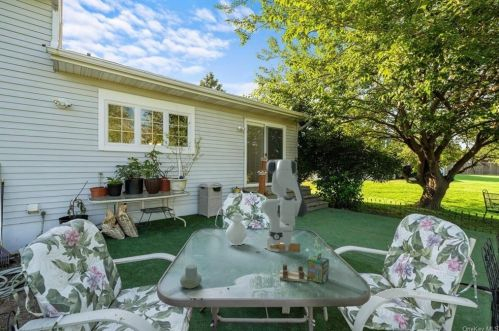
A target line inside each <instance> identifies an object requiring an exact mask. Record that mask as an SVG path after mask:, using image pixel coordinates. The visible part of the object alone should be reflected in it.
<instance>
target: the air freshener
mask: <svg viewBox="0 0 499 331" xmlns="http://www.w3.org/2000/svg"><path fill="white" fill-rule="evenodd" d="M202 282H203V281H202V276H201V275H200V274H199V273H198V266H197V265H196V264H189V265H186V266H185V273H184V274H182V276H181V277H180V279H179V283H180V285H181V287H183V288H186V289H189V290H190V289H193V288H196V287H198V286H200V284H201V283H202Z"/></svg>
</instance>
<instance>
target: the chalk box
mask: <svg viewBox="0 0 499 331" xmlns="http://www.w3.org/2000/svg"><path fill="white" fill-rule="evenodd" d="M329 268H330V259H329V258H328V257H327V258H326V257H322V252H320V253H319V254H318V255H315V254H314V255H313V256H311V257H310V258H308V259H307V280H308V279H311V280H315V281H318V282H321V283H323V282H324V281H325V280H327V279H328V278H329V275H330V274H329V270H330V269H329ZM311 280H310V281H311ZM328 280H329V279H328ZM328 280H327V281H328ZM324 283H325V282H324ZM324 283H323V284H324Z"/></svg>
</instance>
